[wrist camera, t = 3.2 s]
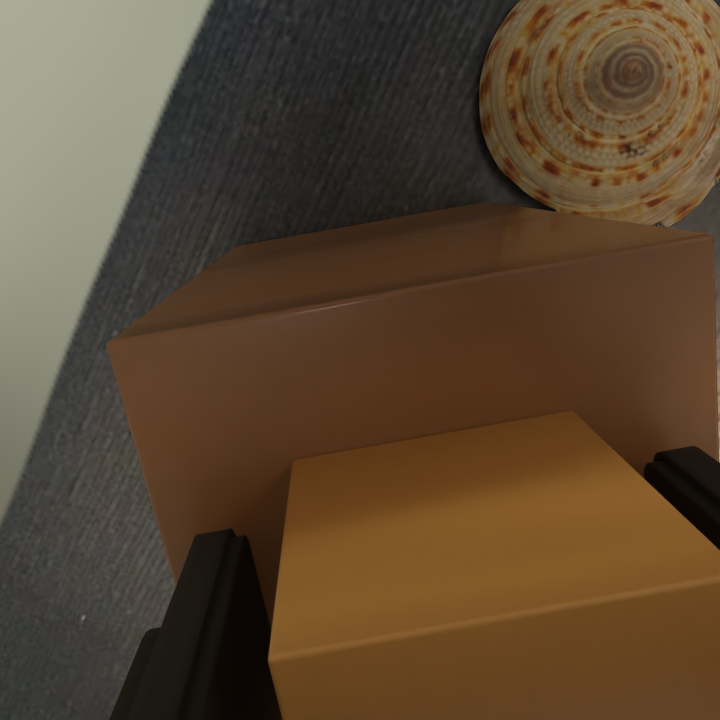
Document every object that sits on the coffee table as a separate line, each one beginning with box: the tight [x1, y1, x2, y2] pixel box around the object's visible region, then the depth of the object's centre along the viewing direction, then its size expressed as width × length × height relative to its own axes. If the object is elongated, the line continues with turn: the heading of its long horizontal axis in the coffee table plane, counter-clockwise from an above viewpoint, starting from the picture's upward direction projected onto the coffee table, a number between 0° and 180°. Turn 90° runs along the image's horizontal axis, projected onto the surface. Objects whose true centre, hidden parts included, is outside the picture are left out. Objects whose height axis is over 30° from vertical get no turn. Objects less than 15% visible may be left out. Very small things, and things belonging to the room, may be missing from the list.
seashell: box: [479, 0, 720, 227], centre depth 21 cm, size 8×6×8 cm
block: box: [268, 411, 720, 720], centre depth 9 cm, size 4×4×4 cm
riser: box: [107, 202, 719, 630], centre depth 17 cm, size 9×9×14 cm
